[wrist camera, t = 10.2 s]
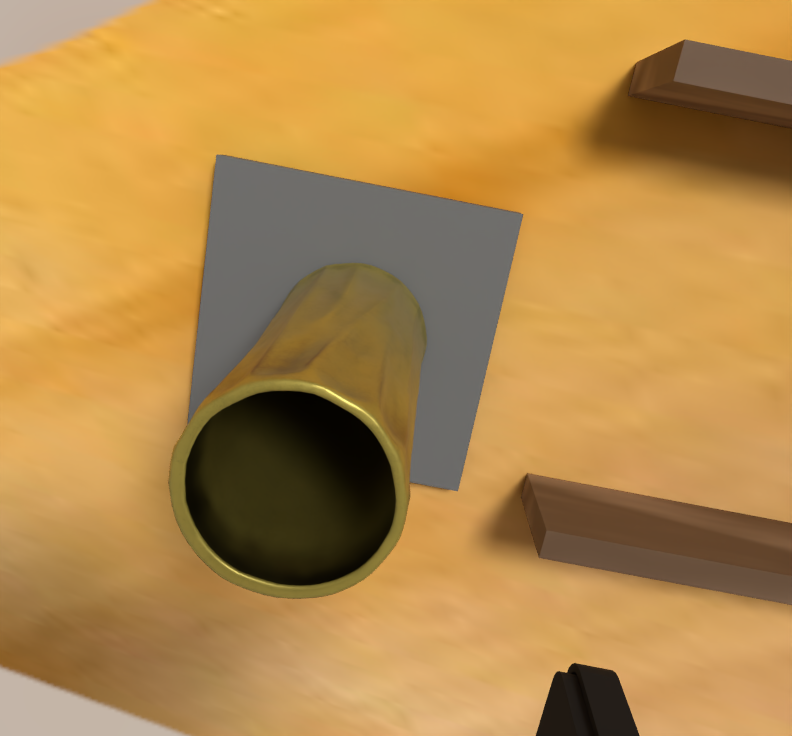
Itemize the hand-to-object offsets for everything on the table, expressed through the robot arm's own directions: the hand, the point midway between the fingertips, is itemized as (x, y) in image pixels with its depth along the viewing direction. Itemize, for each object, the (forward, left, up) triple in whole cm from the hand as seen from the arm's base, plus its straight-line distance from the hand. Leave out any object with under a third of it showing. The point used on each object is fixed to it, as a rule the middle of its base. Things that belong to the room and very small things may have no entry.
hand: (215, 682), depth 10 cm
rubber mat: (0, 0, -21) cm, 21 cm away
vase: (0, 0, -20) cm, 20 cm away
